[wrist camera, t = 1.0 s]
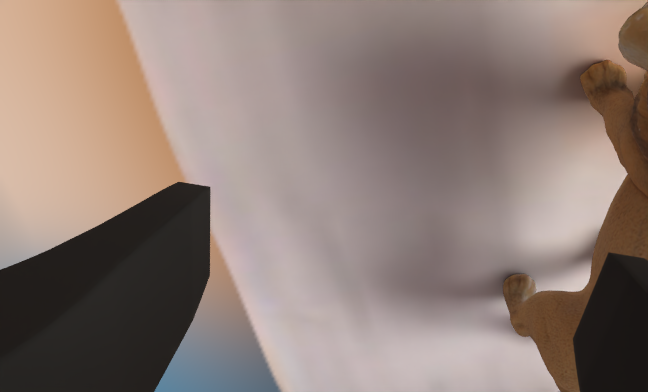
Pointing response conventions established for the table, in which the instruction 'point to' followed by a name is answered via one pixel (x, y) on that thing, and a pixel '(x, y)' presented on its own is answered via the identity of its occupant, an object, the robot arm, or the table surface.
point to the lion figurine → (622, 217)
